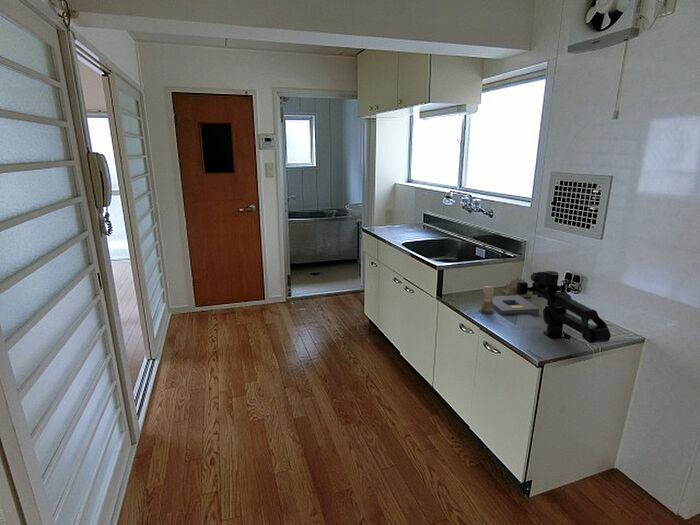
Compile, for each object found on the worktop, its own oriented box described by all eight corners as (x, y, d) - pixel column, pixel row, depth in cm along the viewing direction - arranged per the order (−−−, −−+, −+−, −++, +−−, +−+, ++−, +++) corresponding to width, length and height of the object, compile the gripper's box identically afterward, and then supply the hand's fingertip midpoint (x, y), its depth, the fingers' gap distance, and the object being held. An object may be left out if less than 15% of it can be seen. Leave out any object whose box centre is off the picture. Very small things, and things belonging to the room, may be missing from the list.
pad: (497, 316, 200) (497, 314, 199) (482, 316, 199) (482, 315, 199) (490, 310, 207) (490, 308, 207) (475, 310, 207) (475, 309, 206)
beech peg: (493, 313, 201) (495, 289, 197) (483, 313, 200) (485, 289, 197) (488, 309, 205) (491, 285, 202) (479, 310, 205) (481, 286, 202)
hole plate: (538, 314, 202) (539, 308, 201) (501, 316, 200) (501, 310, 199) (518, 300, 221) (519, 295, 220) (484, 302, 219) (484, 296, 218)
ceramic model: (505, 296, 227) (506, 280, 224) (502, 290, 238) (503, 274, 235) (531, 298, 224) (533, 281, 221) (527, 292, 235) (529, 275, 232)
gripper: (565, 274, 182) (544, 266, 197) (527, 276, 180) (509, 268, 195) (563, 297, 184) (542, 287, 200) (525, 299, 182) (508, 289, 197)
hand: (526, 283), depth 198 cm, fingers open, 9 cm apart
